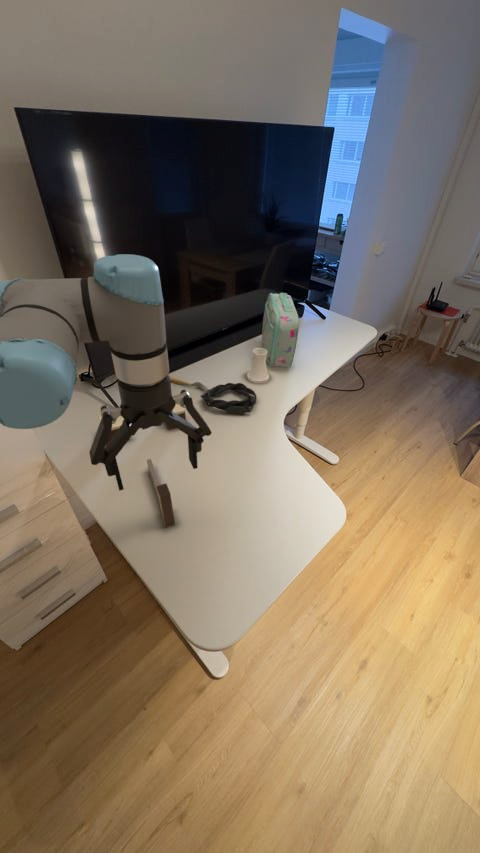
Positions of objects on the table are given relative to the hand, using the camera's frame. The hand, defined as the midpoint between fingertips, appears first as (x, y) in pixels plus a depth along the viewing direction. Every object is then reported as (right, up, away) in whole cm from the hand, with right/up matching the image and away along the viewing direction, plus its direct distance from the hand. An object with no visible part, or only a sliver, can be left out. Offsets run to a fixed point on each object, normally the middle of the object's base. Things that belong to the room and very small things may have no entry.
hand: (158, 473), depth 63 cm
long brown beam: (-3, -7, +14) cm, 16 cm away
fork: (-4, +22, +50) cm, 55 cm away
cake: (-18, +6, +29) cm, 35 cm away
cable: (+12, +16, +44) cm, 48 cm away
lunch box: (+29, +36, +68) cm, 82 cm away
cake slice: (-4, +10, +35) cm, 37 cm away
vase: (+21, +26, +55) cm, 64 cm away
